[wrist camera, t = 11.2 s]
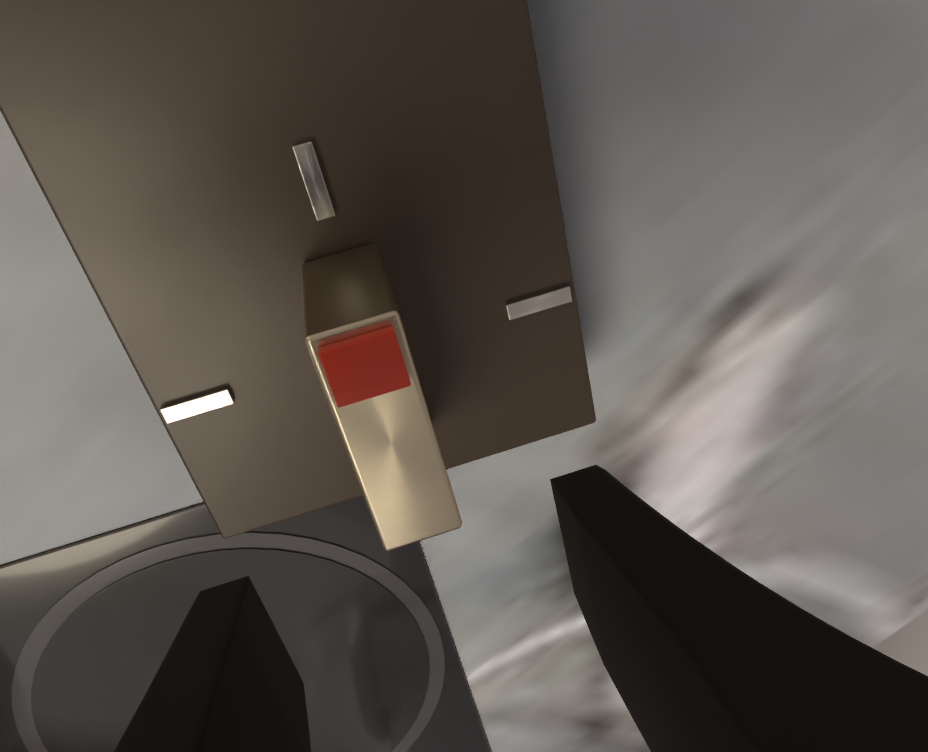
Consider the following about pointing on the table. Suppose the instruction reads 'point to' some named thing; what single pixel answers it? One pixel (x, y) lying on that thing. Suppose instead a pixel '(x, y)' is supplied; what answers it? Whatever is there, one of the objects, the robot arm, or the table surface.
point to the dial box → (304, 216)
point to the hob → (284, 597)
